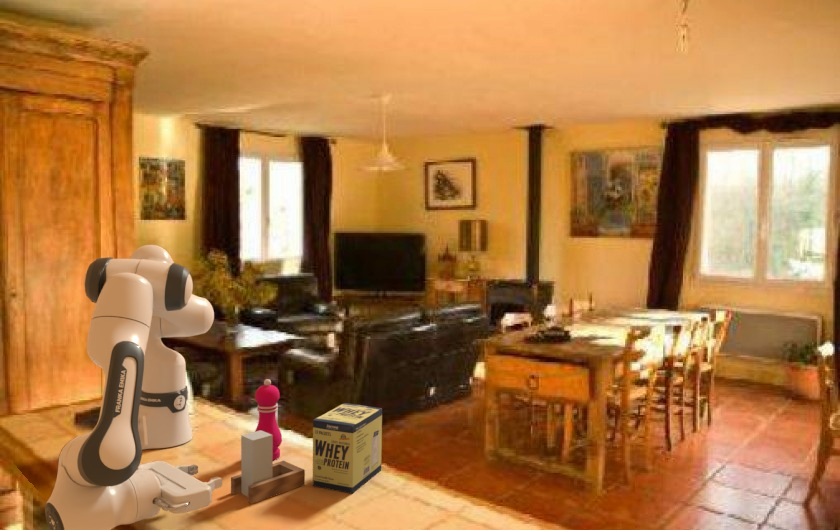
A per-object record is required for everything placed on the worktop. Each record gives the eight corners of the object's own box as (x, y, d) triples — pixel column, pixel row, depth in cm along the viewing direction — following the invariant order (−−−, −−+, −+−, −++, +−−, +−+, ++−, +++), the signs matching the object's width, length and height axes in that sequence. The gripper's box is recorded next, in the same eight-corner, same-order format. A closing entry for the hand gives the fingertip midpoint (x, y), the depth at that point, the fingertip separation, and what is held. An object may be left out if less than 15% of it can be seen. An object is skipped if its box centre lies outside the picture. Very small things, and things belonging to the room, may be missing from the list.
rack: (251, 503, 140) (251, 487, 140) (230, 492, 145) (230, 477, 145) (304, 484, 150) (304, 469, 150) (283, 475, 155) (283, 460, 155)
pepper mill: (274, 463, 163) (274, 383, 161) (247, 460, 164) (247, 381, 163) (286, 453, 170) (286, 376, 168) (260, 450, 171) (260, 374, 170)
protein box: (311, 486, 149) (311, 419, 148) (344, 463, 164) (344, 401, 163) (352, 494, 145) (353, 425, 144) (382, 469, 160) (383, 407, 159)
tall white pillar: (253, 499, 142) (253, 440, 141) (241, 493, 145) (241, 435, 144) (272, 492, 146) (272, 434, 145) (260, 486, 149) (260, 430, 148)
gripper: (168, 495, 119) (236, 473, 129) (119, 464, 132) (183, 447, 143) (168, 528, 119) (236, 505, 129) (119, 495, 133) (183, 475, 143)
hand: (208, 474), depth 136 cm, fingers open, 8 cm apart
